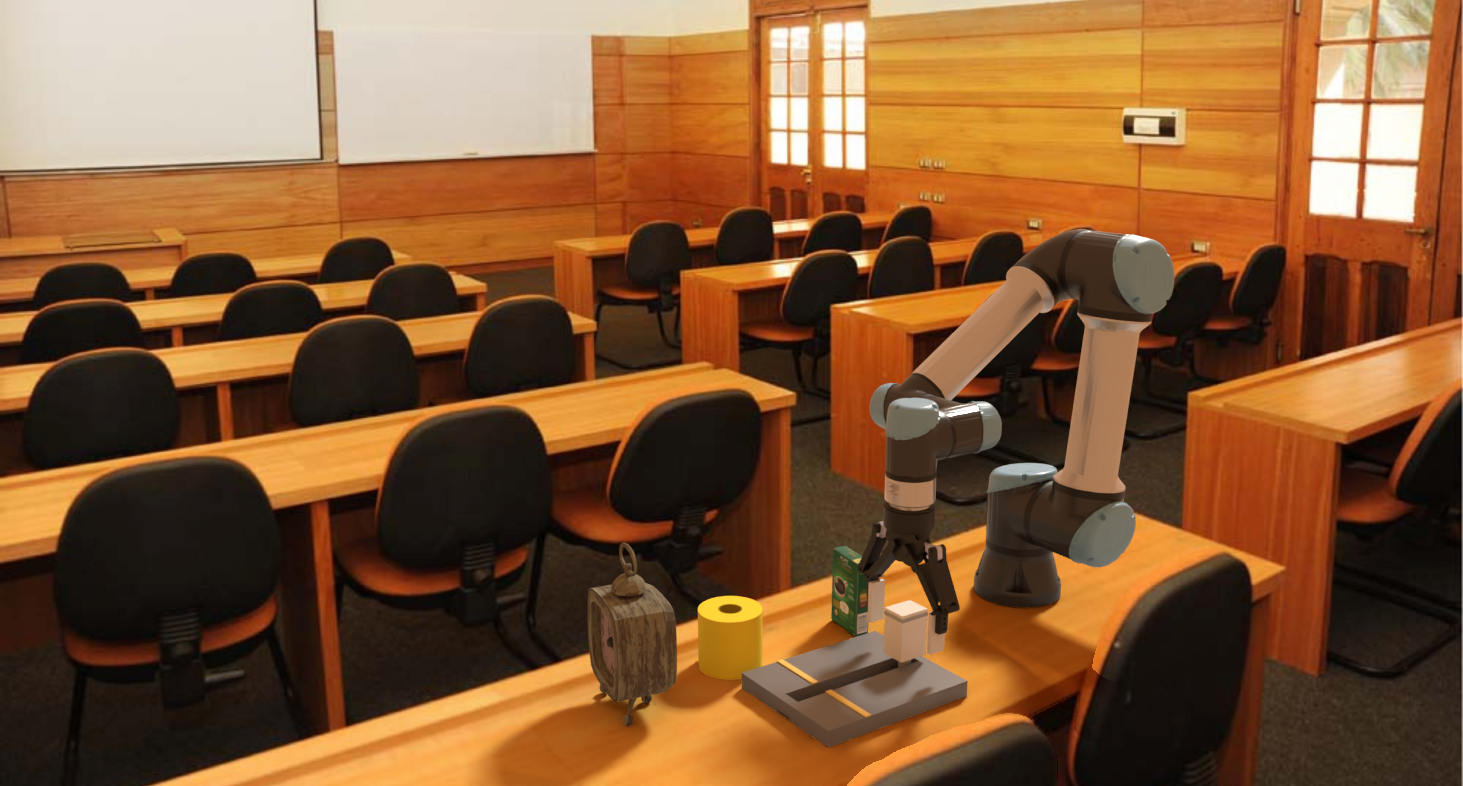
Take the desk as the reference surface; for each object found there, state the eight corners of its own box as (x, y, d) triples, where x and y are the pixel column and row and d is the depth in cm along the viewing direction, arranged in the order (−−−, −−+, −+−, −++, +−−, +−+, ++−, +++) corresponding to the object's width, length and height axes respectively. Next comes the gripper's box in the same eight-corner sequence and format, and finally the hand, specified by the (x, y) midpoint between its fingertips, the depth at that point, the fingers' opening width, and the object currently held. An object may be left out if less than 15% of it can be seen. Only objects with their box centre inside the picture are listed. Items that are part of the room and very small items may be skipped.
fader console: (874, 645, 204) (875, 629, 204) (966, 696, 187) (967, 679, 187) (741, 688, 190) (741, 671, 189) (828, 747, 173) (828, 729, 173)
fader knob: (907, 660, 197) (909, 599, 194) (925, 670, 194) (928, 608, 191) (882, 669, 194) (884, 607, 192) (900, 679, 191) (902, 616, 188)
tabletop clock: (589, 690, 190) (584, 533, 184) (646, 678, 193) (643, 524, 187) (620, 734, 177) (615, 567, 171) (680, 721, 180) (678, 557, 174)
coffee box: (870, 635, 208) (872, 560, 205) (855, 638, 207) (857, 563, 203) (844, 617, 215) (846, 544, 212) (830, 620, 214) (831, 547, 210)
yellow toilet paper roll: (772, 657, 200) (772, 602, 198) (746, 684, 191) (746, 627, 189) (715, 646, 204) (715, 591, 202) (687, 672, 195) (686, 615, 193)
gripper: (836, 485, 195) (834, 613, 200) (949, 532, 175) (943, 672, 180) (874, 477, 199) (870, 602, 205) (988, 521, 179) (981, 659, 184)
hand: (904, 635), depth 192 cm, fingers open, 13 cm apart
